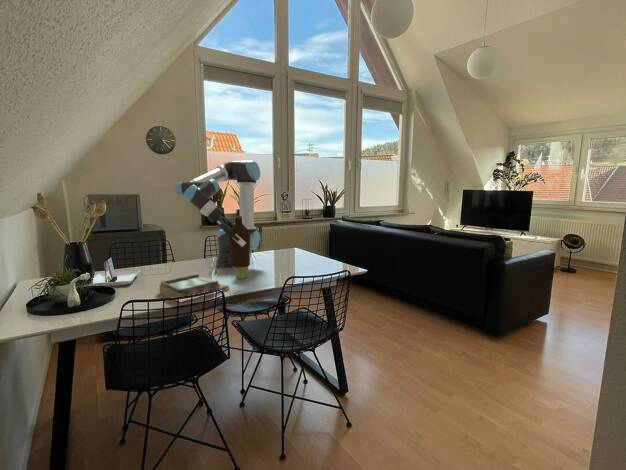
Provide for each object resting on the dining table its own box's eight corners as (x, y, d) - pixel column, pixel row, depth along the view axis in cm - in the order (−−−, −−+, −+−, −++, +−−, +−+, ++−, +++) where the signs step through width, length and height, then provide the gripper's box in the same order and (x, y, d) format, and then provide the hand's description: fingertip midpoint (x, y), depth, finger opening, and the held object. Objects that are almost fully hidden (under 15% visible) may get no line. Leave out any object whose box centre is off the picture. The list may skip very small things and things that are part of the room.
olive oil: (252, 267, 169) (250, 216, 165) (229, 268, 166) (227, 217, 162) (250, 262, 179) (248, 214, 175) (229, 263, 176) (227, 215, 172)
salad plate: (85, 290, 168) (84, 283, 168) (99, 278, 189) (98, 272, 188) (132, 286, 174) (132, 280, 173) (141, 275, 194) (140, 269, 194)
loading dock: (207, 281, 181) (206, 271, 180) (228, 289, 168) (228, 278, 167) (159, 292, 163) (159, 281, 162) (179, 302, 150) (179, 290, 149)
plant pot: (246, 280, 183) (246, 264, 182) (230, 279, 185) (229, 263, 184) (253, 275, 192) (252, 260, 191) (237, 274, 194) (236, 260, 193)
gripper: (211, 214, 179) (243, 243, 182) (201, 220, 156) (237, 253, 160) (221, 204, 178) (253, 233, 182) (212, 208, 156) (248, 241, 159)
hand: (245, 242), depth 171 cm, fingers closed on olive oil, 10 cm apart
